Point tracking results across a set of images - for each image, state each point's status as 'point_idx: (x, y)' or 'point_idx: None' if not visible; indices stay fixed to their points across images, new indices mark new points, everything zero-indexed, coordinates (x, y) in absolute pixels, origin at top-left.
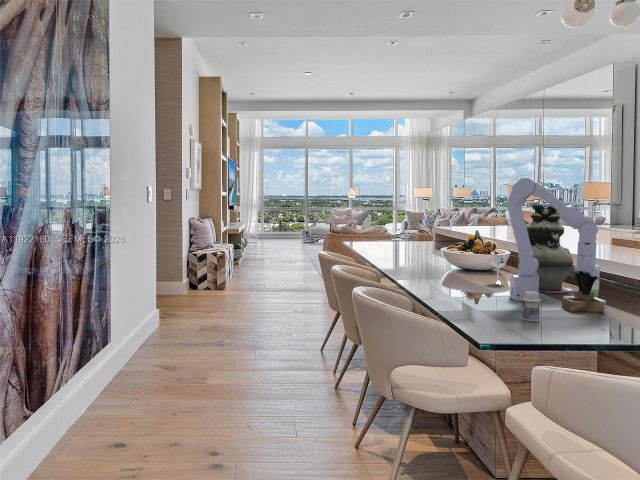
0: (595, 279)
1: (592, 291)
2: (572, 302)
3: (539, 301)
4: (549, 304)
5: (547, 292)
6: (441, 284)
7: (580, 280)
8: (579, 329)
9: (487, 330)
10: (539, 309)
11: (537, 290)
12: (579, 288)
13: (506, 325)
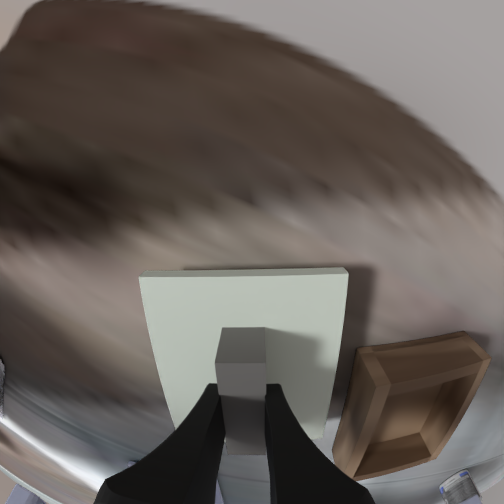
0: (351, 482)
1: (239, 369)
2: (435, 455)
3: (481, 496)
4: None
5: (3, 369)
6: (54, 500)
7: (213, 500)
8: None
9: None
10: (474, 485)
11: None
12: (221, 448)
13: None
